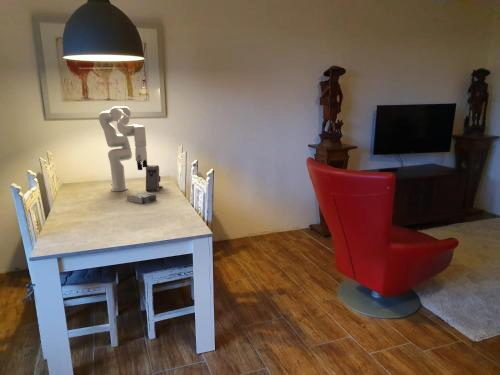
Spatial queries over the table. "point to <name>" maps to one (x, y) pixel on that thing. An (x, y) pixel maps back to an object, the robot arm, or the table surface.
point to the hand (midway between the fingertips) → (142, 168)
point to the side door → (135, 198)
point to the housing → (147, 197)
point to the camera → (152, 178)
